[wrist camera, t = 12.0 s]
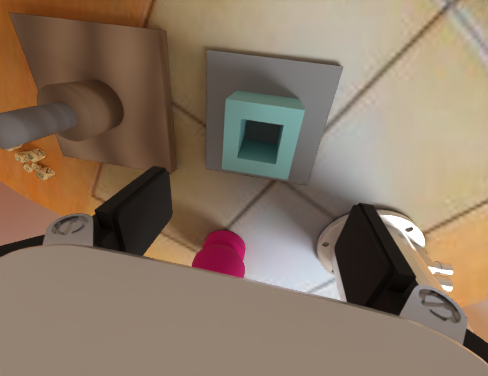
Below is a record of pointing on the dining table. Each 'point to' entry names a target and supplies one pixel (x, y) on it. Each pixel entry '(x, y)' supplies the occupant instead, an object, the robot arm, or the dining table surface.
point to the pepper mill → (222, 254)
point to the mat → (272, 83)
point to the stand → (96, 92)
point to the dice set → (33, 156)
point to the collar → (254, 152)
